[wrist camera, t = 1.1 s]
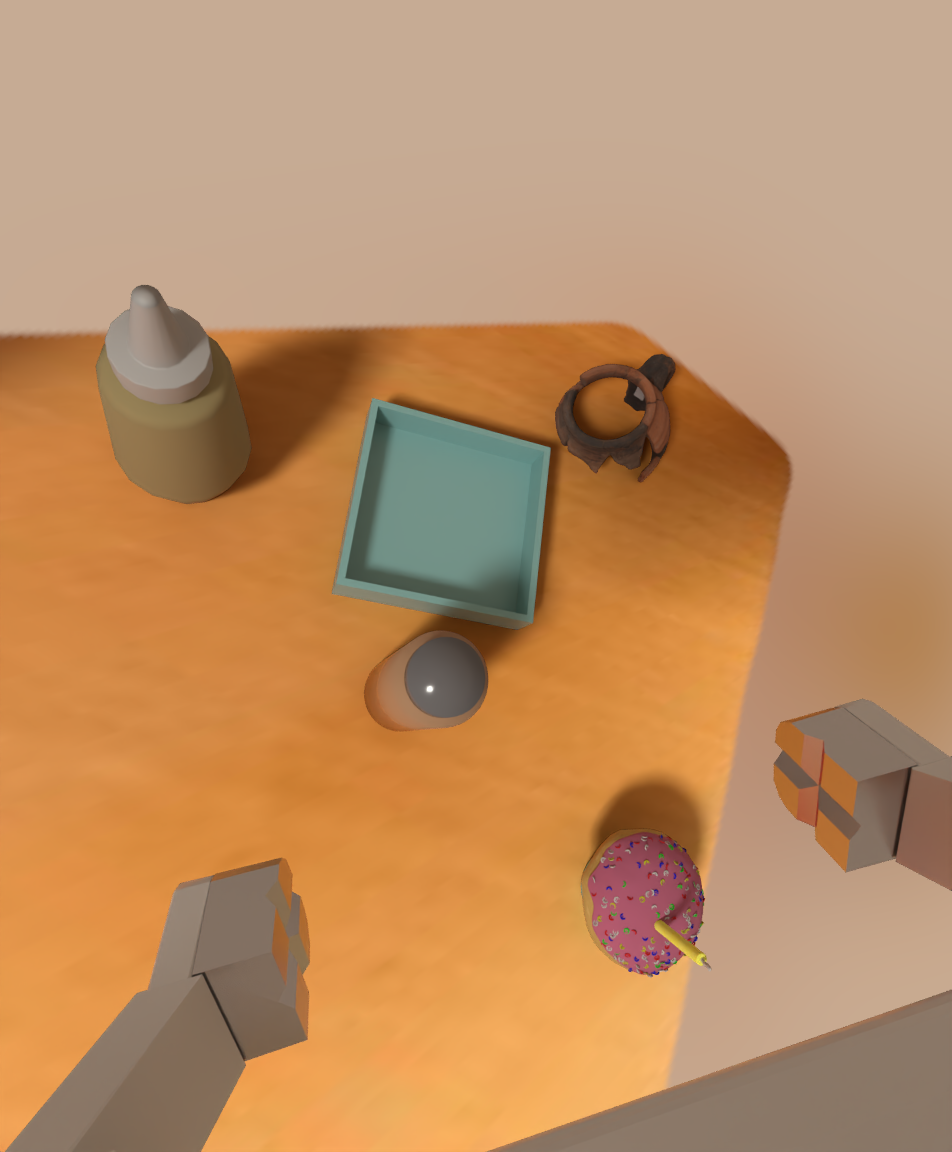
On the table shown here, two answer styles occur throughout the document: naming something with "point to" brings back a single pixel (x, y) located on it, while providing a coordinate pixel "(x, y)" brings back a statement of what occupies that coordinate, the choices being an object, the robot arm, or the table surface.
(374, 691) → the shaker
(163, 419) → the squeeze bottle
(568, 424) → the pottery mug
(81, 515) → the table surface
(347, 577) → the tray
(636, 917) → the cupcake
